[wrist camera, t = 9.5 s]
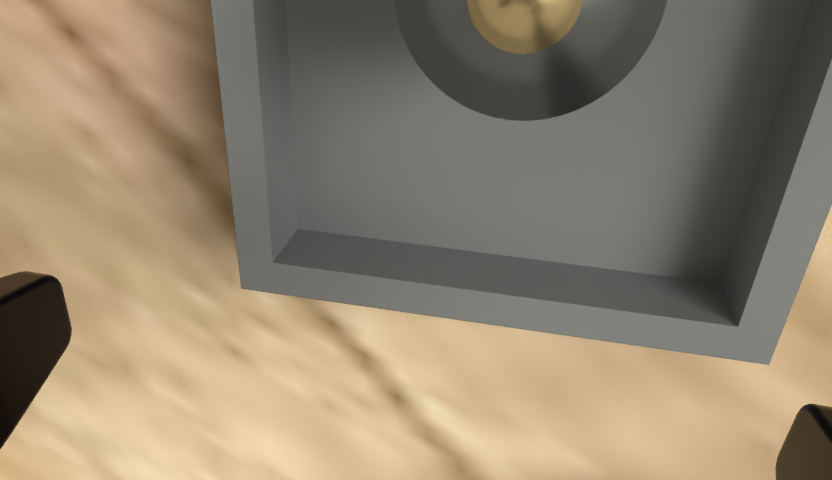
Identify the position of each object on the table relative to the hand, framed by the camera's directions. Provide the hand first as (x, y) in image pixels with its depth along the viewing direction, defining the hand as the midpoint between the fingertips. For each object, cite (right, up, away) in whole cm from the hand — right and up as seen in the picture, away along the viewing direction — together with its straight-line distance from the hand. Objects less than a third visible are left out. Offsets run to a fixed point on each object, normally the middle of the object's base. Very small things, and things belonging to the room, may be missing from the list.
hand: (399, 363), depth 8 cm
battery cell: (+3, +8, +7) cm, 11 cm away
